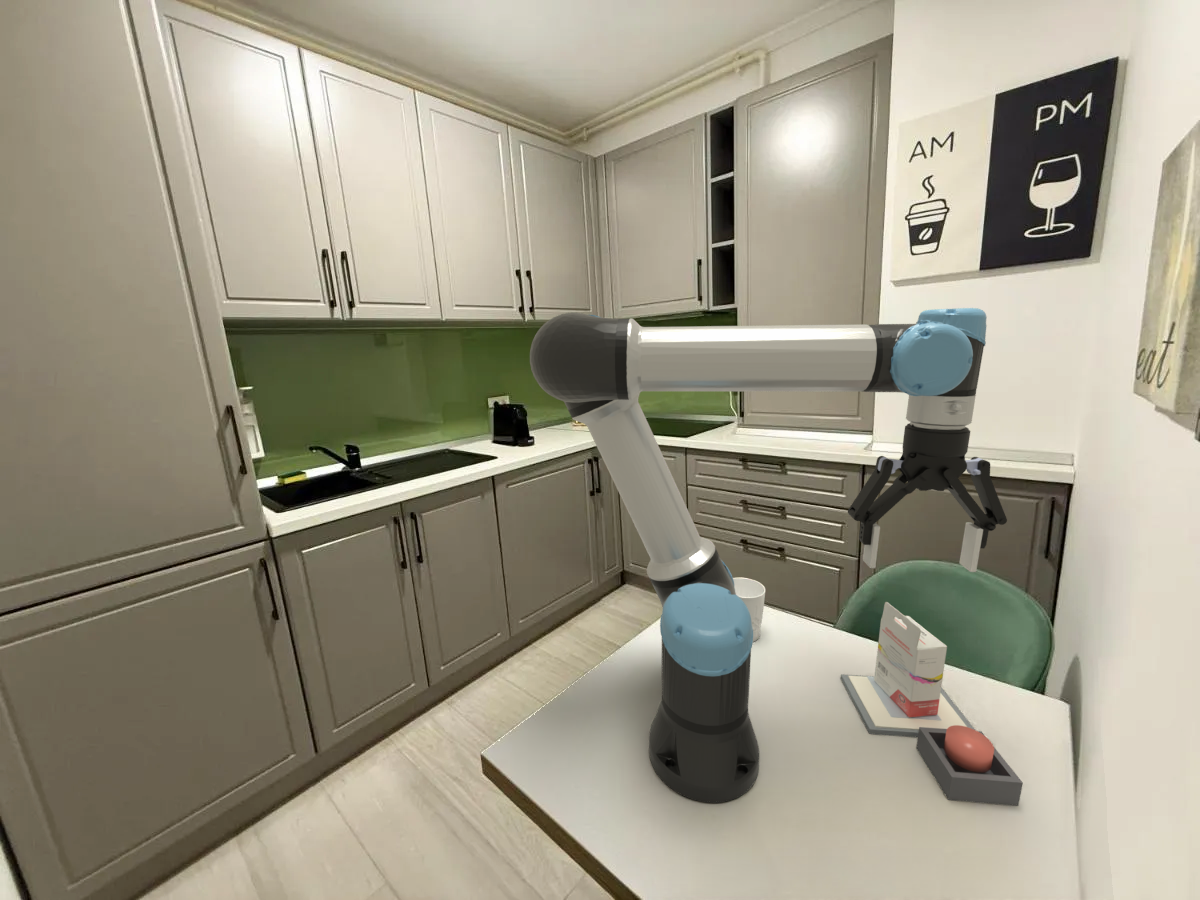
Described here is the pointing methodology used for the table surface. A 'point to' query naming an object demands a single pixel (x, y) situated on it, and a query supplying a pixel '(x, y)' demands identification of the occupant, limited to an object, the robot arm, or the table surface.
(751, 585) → the white cup
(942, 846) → the table surface
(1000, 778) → the button housing
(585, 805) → the table surface
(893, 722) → the board
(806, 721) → the table surface
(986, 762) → the button
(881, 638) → the ink cartridge box
